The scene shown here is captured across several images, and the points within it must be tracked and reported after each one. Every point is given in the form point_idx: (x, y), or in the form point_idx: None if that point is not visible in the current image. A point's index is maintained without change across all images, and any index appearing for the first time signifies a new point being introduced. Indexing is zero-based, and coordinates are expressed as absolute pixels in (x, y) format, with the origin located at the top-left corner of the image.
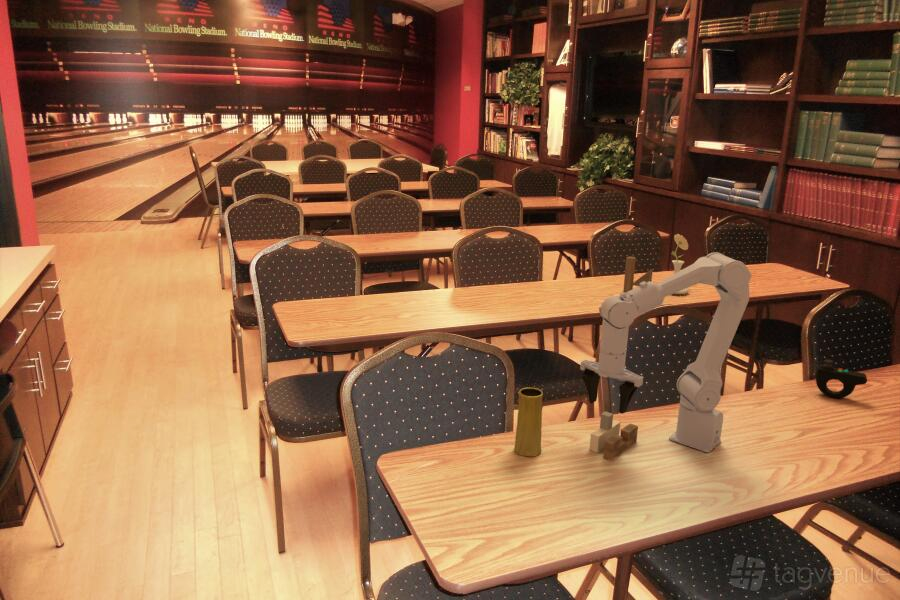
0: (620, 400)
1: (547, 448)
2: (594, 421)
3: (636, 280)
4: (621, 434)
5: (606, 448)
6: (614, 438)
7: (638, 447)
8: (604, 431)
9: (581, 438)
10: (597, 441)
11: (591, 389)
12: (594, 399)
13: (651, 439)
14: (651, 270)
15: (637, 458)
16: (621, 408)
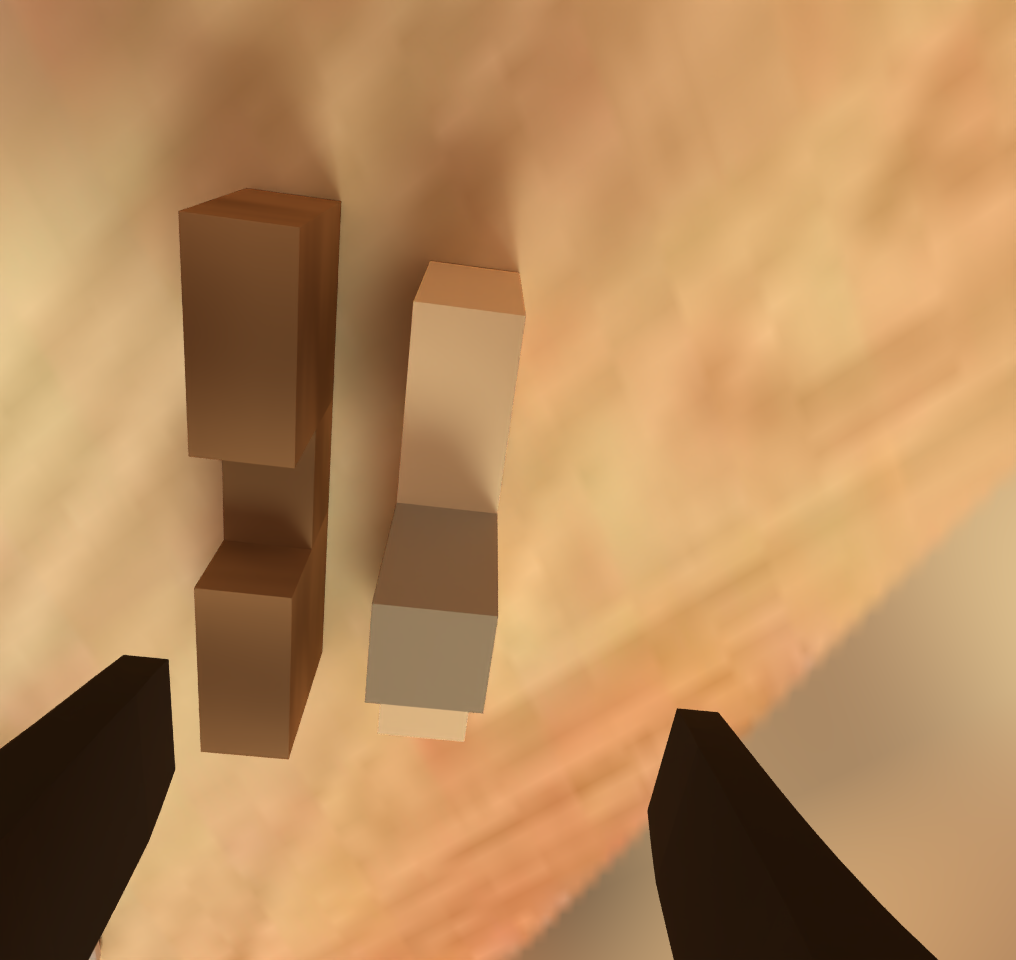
0: (6, 824)
1: (927, 10)
2: None
3: None
4: (292, 570)
5: (282, 209)
6: (241, 371)
7: (188, 572)
8: (417, 465)
9: (668, 438)
10: (430, 288)
11: (780, 928)
12: (669, 799)
13: (180, 735)
14: None
15: (87, 389)
16: (79, 705)
